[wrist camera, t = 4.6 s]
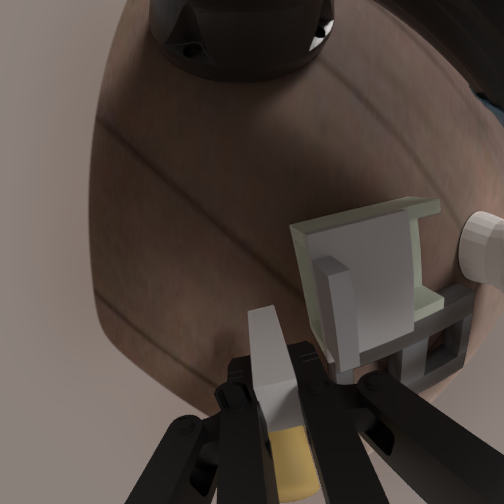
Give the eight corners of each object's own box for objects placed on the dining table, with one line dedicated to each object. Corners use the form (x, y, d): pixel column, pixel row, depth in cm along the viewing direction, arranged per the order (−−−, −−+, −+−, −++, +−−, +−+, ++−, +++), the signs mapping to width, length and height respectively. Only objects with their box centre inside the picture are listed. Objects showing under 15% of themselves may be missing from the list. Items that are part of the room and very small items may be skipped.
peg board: (323, 334, 22) (333, 352, 19) (456, 282, 22) (474, 290, 19) (332, 407, 24) (340, 426, 22) (449, 355, 24) (462, 367, 21)
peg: (249, 378, 23) (258, 488, 11) (287, 368, 23) (317, 476, 11) (258, 403, 24) (270, 505, 12) (294, 395, 24) (321, 494, 12)
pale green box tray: (289, 224, 20) (302, 233, 16) (407, 196, 20) (439, 198, 16) (310, 328, 22) (324, 355, 18) (416, 291, 22) (443, 308, 18)
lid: (303, 233, 16) (322, 245, 12) (400, 209, 16) (436, 214, 12) (325, 357, 18) (342, 390, 14) (408, 326, 18) (435, 349, 14)
